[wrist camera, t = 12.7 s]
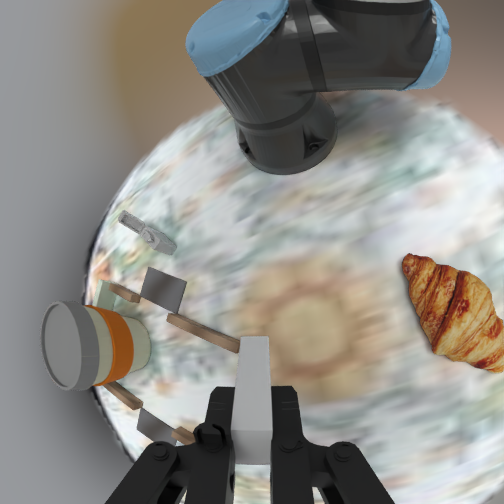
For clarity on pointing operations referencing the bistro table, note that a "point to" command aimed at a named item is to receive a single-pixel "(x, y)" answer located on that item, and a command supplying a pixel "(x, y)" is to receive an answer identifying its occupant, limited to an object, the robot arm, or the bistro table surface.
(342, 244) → the bistro table surface
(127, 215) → the lighter
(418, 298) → the croissant
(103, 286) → the pale grey board
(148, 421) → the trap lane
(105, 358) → the reusable coffee cup
